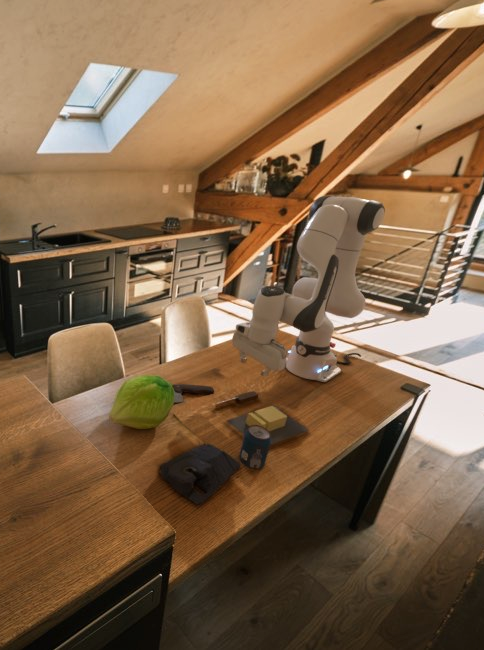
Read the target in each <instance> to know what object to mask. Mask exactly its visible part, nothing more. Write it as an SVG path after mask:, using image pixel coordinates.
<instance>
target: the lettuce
mask: <svg viewBox="0 0 484 650" xmlns="http://www.w3.org/2000/svg"><path fill="white" fill-rule="evenodd" d="M172 385H173V384H171V382H169V381H168V380H167V379H165V378H163V377H161V376H160V375H157V374H145V375H138V376H134V377H132V378H131V377H130V378H129V379H127V380H126V381H124V382H123V383H122V385H121V386H120V387H119V389H118V391H117V392H116V394H115V397H114V399H113V403H112V407H111V409H110V412H109V414H108V417H109V421H110V422H111V423H113V424H116V425H123V426H126V427H129V428H133V429H137V430H147V429H152V428H155V427H158V426H160V425H161V424H162V423H163V422H165V420H166V419H167V418H168V416H169V414H170V412H171V410H172V408H173V406H174V405H175V403H174V394H175V392H174V389H173V387H172Z"/></svg>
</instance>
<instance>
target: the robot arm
mask: <svg viewBox="0 0 484 650" xmlns="http://www.w3.org/2000/svg"><path fill="white" fill-rule="evenodd" d="M385 210H386V208H385V206H384V204H383V203H382V202H380V201H377V200H374V199H364V198H360V197H355V196H332V195H322V196H320V197H318V198H316V199H315V200H314V201H313V202H312V204H311V206H310V208H309V210H308V211H309V212H308V218H309V221H308V222H307V224H306V225H305V226H304V229H303V230H302V231H301V234H300V236H299V238H298V239H297V243H296V250H297V253H298V256H299V257H300V258H301V259H302V260H303V261H304V262H306V263H307V264H308V265H310V266H311V267H312V268H314V269H315V270H316V272H317V278H316V277H307V276H304V277H301V278H299V279H298V280H297V281H296V282H295V283H294V285H293V287H292V294H291V293H288V292H286V291H285V290H284V288H282V287H280V286H277V285H266V286H263V287H261V288H260V289H259V291H258V293H257V295H256V297H255V299H254V303H253V307H252V310H251V313H252V317H251V319H250V321H247V322H242V323H237V324H236V325H235V331H233V335H232V339H231V343H232V347H234V348H236V349H237V350H238V354H239V362H240V363H242V364H246V363H247V361H248V357H246V356H249V357H250V358H252V359H253V360H255V361H257V362H258V363H260V364H262V365H263V366H264V367H265V369H264V370H261V372H260V376H262V377H264V378H266V377H268V376H269V373H270V372H271V371H273V372H279V371H280V372H281V371H283V370H284V369H285V368H286V370H287V371H288V372H290V373H292V374H294V375H295V376H297V377H300V378H302V379H307V380H312V381H317V382H321V383H327V382H328V381H330V380H332V379H334V378H335V377H336V376H337V375H339V374H341V373H342V369H341V368H340V367H339V366H337V364H341V365H350V364H351V360H350V359H348V357H349V356H358V357H359V358H360V357H362V355H361V354H360V353H358V352H351V353H350V352H349V353H347V354H345V355H344V357H343V358H344V359H345V360H346V361H347V362H344V361H338V358H337V354H336V353H334V352H332V351H331V349H334V348H335V347H336V346H337V345H336V344H337V343H334V342H332V337H333V334H334V331H335V325H334V323H333V322H332V321H331V320H330V318H329V317H328V316H327V313H328V314H331V315H334V316H336V317H341V318H347V319H354V318H356V317H358V316H359V315H360V314H361V313H363V311H364V310H365V308H366V304H367V303H366V298H365V296H364V294H363V293H362V292H361V290H360V289H359V287H358V284H357V280H356V270H357V266H358V262H359V259H360V255H361V253H362V250H363V247H364V244H365V241H366V235H367V234H369V233H372V232H374V231H376V230H377V229H378V228H379V227H380V225H381V224H382V223H383V221H384V218H385V212H386V211H385ZM279 322H281V323H283V324H286V325H288V326H290V327H293V328H295V329H297V330H298V331H299V334H298V336H297V337H296V339H295V342H294V345H292V346H291V349H290V350H287V348H286V347H285V345H284V344H283V343H280V342H278V341H277V340H276V339H277V336H278V332H279ZM347 355H348V356H347Z"/></svg>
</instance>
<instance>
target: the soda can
mask: <svg viewBox="0 0 484 650" xmlns="http://www.w3.org/2000/svg"><path fill="white" fill-rule="evenodd" d="M270 444H271V437H270V432H269V431H268V430H267V429H266V428H264V427H262V426H259V425H251V426H250V427H249V428H248V429H247V430H246V431H245V435H243V438H242V443H241V447H240V451H239V455H238V458H239V461H240V462H241V463H242V465H244V466H245V467H247V468H249V469H252V470H262V469H263V468H264V467H265V465H266V460H267V457H268V454H269V450H270V447H271V445H272V444H271V445H270Z"/></svg>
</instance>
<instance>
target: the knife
mask: <svg viewBox="0 0 484 650" xmlns="http://www.w3.org/2000/svg"><path fill="white" fill-rule="evenodd" d="M259 396H260V395H259V394H258V393H257V392H256V391H254V390H252V391H249V392H246V393H242V394H239V395H235V396H234V397H233V398H229V399H226V400H222V401H219V402H216V403H215V406H214V409H219V408H222V407H226V406H229V405H233V404H236V403H238V404H239V405H241V404H243V403H246V402H250V401H253V400H256V399H258V398H259Z"/></svg>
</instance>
